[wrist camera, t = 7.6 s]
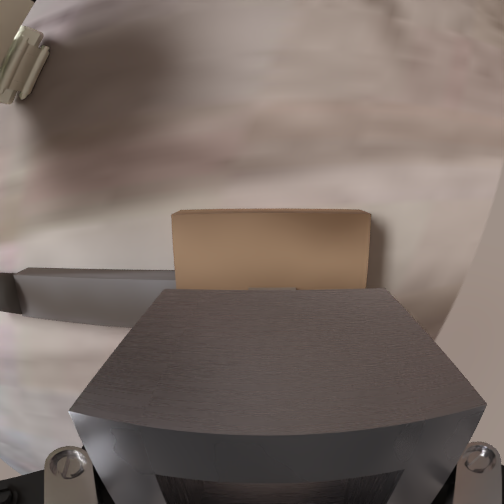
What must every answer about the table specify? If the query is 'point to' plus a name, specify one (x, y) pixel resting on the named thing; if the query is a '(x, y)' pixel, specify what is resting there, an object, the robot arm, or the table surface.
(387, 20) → the table surface
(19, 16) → the pneumatic valve
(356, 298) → the hollow grey cube
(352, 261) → the mallet
